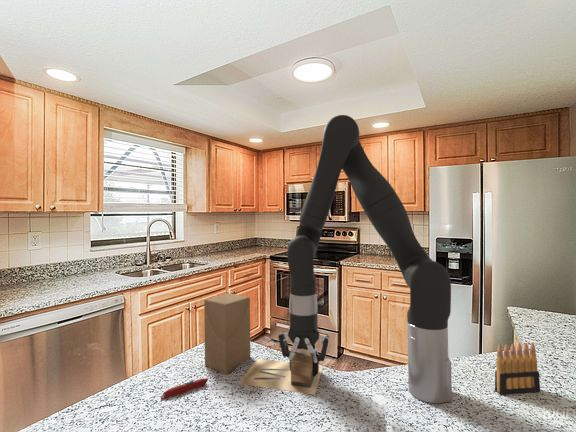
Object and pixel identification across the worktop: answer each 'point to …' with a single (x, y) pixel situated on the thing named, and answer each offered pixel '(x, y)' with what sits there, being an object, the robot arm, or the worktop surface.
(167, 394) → the utility knife
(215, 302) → the wooden block
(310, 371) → the block
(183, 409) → the worktop surface
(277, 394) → the worktop surface
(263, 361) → the pine board
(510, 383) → the ammunition clip
